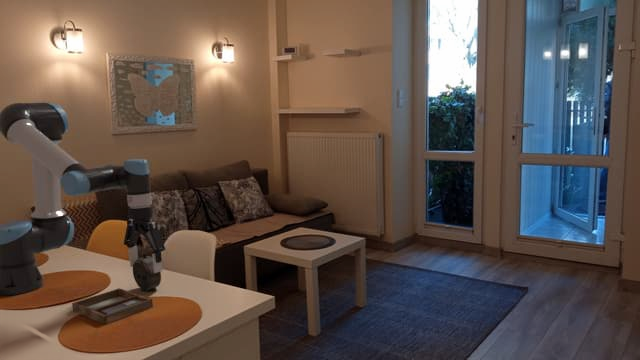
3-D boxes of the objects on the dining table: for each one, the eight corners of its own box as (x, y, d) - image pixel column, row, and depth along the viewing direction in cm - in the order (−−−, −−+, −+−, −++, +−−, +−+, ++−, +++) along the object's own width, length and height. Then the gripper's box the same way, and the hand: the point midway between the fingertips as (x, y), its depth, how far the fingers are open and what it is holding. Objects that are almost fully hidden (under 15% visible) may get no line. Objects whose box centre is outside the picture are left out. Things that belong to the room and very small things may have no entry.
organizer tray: (73, 313, 157) (71, 303, 157) (120, 297, 169) (119, 288, 169) (105, 327, 146) (104, 316, 146) (152, 309, 158) (152, 299, 158)
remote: (101, 317, 151) (101, 309, 151) (135, 305, 160) (134, 298, 159) (109, 320, 149) (108, 312, 148) (142, 308, 157) (142, 301, 157)
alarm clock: (163, 293, 172) (159, 245, 170) (148, 297, 168) (144, 249, 166) (145, 286, 179) (141, 241, 177) (131, 291, 175) (127, 244, 173)
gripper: (109, 205, 175) (115, 266, 177) (152, 211, 159) (158, 277, 162) (129, 201, 181) (135, 260, 183) (172, 207, 165) (178, 271, 168)
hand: (146, 268), depth 173 cm, fingers open, 13 cm apart
